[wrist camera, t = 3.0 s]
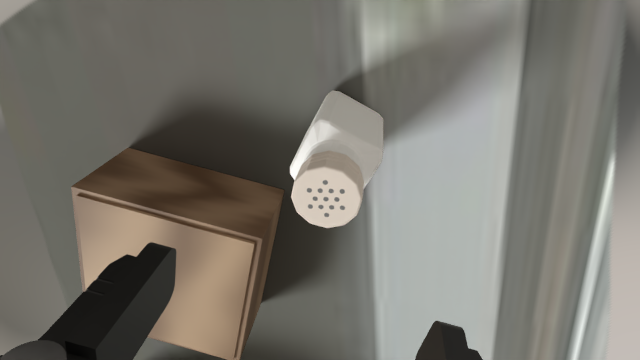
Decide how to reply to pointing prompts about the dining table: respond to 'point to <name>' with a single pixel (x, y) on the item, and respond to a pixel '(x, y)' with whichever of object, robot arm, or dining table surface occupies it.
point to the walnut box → (183, 242)
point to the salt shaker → (336, 161)
